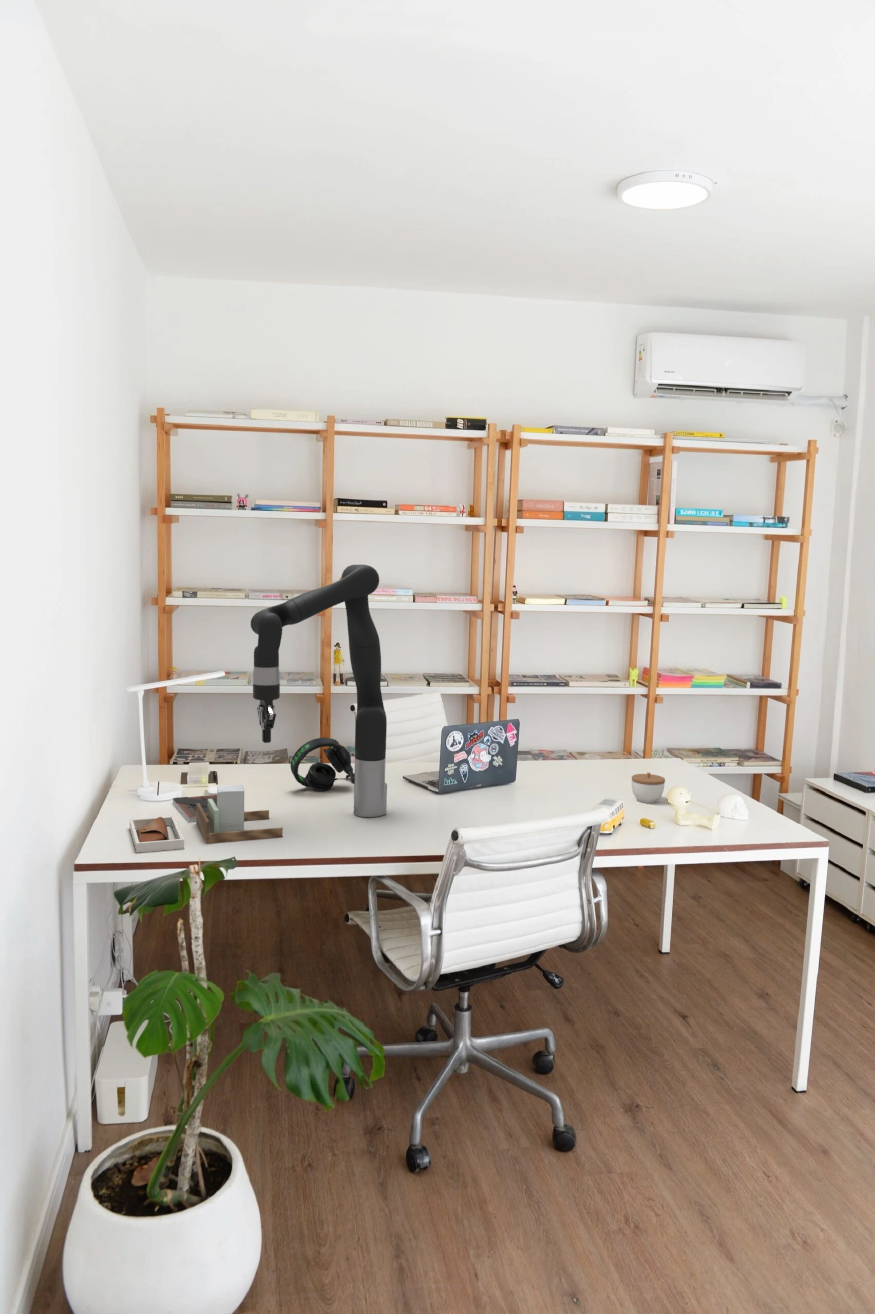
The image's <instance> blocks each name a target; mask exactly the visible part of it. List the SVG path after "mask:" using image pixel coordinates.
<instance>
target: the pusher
mask: <svg viewBox="0 0 875 1314" xmlns="http://www.w3.org/2000/svg"><path fill="white" fill-rule="evenodd" d="M208 820H209V833H219V809H218V808H217V806H216V804H215V803H214V801H213V799H208Z"/></svg>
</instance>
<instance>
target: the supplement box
mask: <svg viewBox="0 0 875 1314" xmlns="http://www.w3.org/2000/svg"><path fill="white" fill-rule="evenodd" d="M216 795H217V808H218V809H219V833H220V832H232V831H244V830H245V821H244V811H245V788H244V784H231V785H230V784H229V785H228V784H224V785H217V793H216Z"/></svg>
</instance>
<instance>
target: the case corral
mask: <svg viewBox="0 0 875 1314" xmlns="http://www.w3.org/2000/svg"><path fill="white" fill-rule="evenodd" d="M161 817H162V818H163V819H164V821H165V823H166V825H172V826H171V828H172V827H173V828H172V830H174V831H173V833H174V835H176V836H175V837H176V838H175V839H169V840H162V841H150V842H139V840H138V835H137V832H136V830H137V829H138V828H140V827H143V826H145V825H147V824H149V823H150V822H152V821H153V820H155V819H156V818H157V817H148V818H146V817H145V818H136V819H135V818H134V819H129V831H130V830H131V831H130V834H132V835H131V837H132V838H133V839H132V842H133V845H135V846H134V850H135V849H136V850H135V853H136V852H137V853H136V854H139V853H138V852H142V853H151V852H162V851H163V850H164V851H172V850H175V849H176V850H184V849H185V838H184V836H183V834H182V831H181V828H180V826H179V824H178V823H177V819H176V817H175V816H174V815H173V816H171V815H170V816H161ZM135 828H137V829H135Z"/></svg>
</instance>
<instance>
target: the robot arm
mask: <svg viewBox="0 0 875 1314" xmlns="http://www.w3.org/2000/svg"><path fill="white" fill-rule="evenodd" d="M379 584H380V575H379V572H378V570H376V569H375V568H374V567H372V566H370V565H367V564H351V565H348V566H346V567H345V569H343V571H342V573H341V578H340V579H339V580H337V581H335V582H333V583H330V584H328V585H325V586H322V587H319V588H316V589H312V590H309V591H307V592H303V593H301V594H298V595H297V596H294V597H292V598H291V599H288V600H287V601H284V602H282V603H279V604H276V605H272V606H269V607H267V608H264V609H261V610H259V611H257V612H256V613H254V615H253V616H252V618H251V620H250V628H251V630H252V631H253V632H254V634H256V635H257V636H258V637H257V646H256V647H254V650H253V671H252V698H253V699H254V700H257V701H259V704H258V705H257V708H256V710H257V713H258V714H257V715H258V720H259V721H258V723H259V726H260V729H261V741H262V742H263V743H264V744H267V743H271V741H272V729H274V726H275V721H276V717H277V713H276V712H275V711H276V706H275V705H274V700H276V701H277V700H278V699H280V697H281V685H280V684H281V681H280V680H281V673H280V660H279V659H280V657H279V656H280V654H279V652H280V646H281V642H282V637H283V628H284V627H286V626H290V625H296V624H298V623H301V622H303V621H305V620H307V619H309V618H312V617H314V616H316V615H318V614H320V613H322V612H324V611H327V610H328V609H330V608H332V607H334V606H337V605H340V604H342V603H344V605H345V612H346V623H347V625H346V626H347V635H348V636H347V637H348V648H349V649H348V650H349V660H350V667H351V671H352V675H353V679H354V683H355V688H356V716H355V727H354V728H355V729H354V735H355V736H354V774H355V776H354V783H353V784H354V785H353V787H354V788H353V814H354V815H355V816H357V817H362V818H376V817H382V816H386V815H387V802H388V799H387V798H388V796H387V795H388V784H387V783H386V755H387V753H386V752H387V730H388V729H387V726H388V724H387V723H388V722H387V713H386V710H385V706H384V701H383V696H382V689H381V680H382V679H381V677H382V654H381V653H382V652H381V643H380V642H381V641H380V637H379V634H378V630H377V627H376V625H375V623H374V620H373V618H372V616H371V612H370V607H369V605H370V604H369V595H372V594H373V593H374V592H375V591H376V590H377V589H378V586H379Z"/></svg>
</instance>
